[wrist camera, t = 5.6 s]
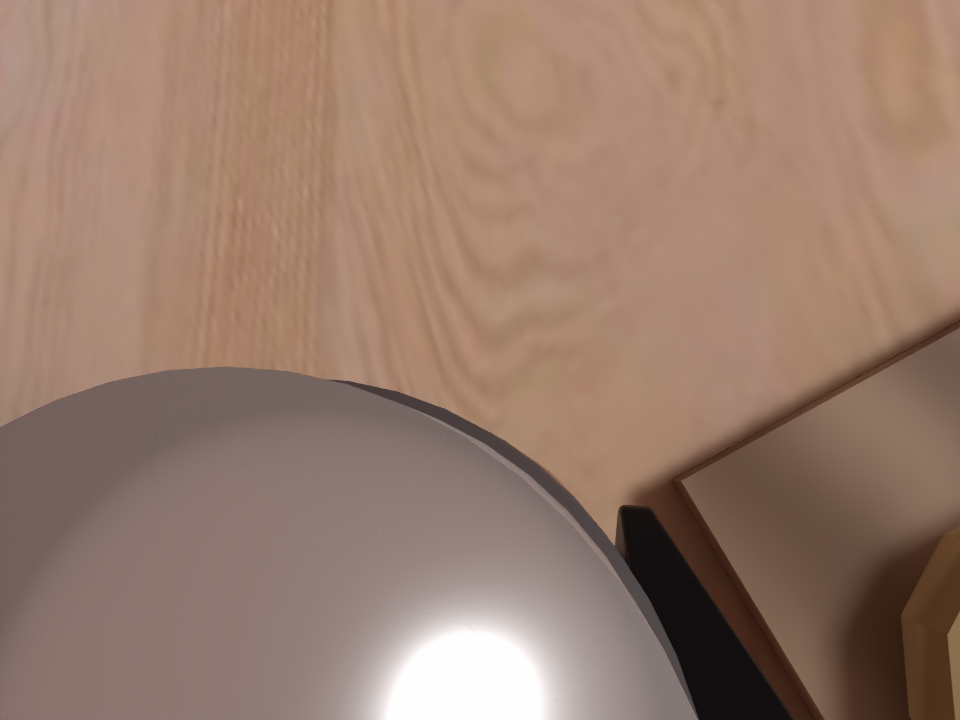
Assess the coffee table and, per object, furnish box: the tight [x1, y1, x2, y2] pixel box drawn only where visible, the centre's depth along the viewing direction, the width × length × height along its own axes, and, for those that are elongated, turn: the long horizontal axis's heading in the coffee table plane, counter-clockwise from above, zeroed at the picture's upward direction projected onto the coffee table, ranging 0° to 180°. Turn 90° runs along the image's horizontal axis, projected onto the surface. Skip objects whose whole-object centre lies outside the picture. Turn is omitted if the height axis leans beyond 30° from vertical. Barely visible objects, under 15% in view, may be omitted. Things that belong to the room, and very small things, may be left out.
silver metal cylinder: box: [0, 367, 699, 720], centre depth 9 cm, size 5×5×12 cm
